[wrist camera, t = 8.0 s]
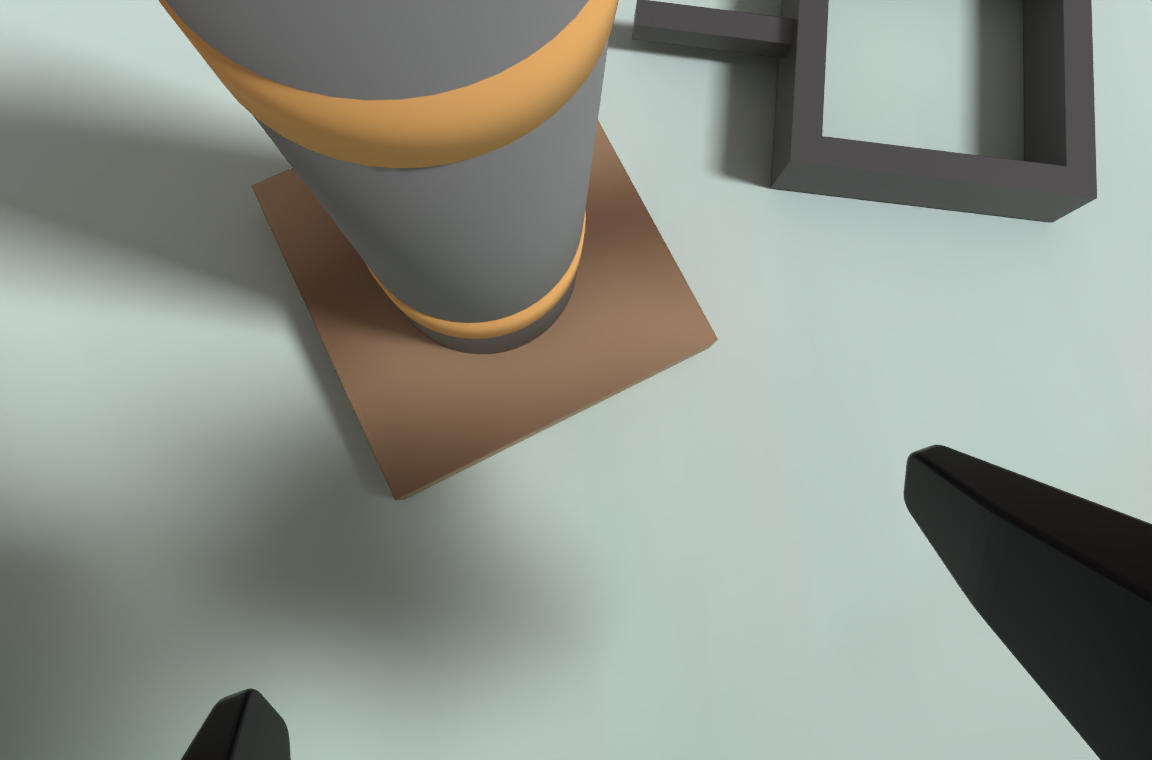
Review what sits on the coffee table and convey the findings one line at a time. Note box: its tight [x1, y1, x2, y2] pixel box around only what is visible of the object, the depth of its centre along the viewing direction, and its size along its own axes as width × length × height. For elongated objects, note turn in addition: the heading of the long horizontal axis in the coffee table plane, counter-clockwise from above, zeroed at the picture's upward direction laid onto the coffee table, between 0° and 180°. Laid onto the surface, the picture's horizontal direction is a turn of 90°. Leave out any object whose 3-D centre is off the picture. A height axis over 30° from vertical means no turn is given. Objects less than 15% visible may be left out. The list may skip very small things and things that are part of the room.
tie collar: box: [632, 0, 1097, 222], centre depth 19 cm, size 8×13×2 cm, turn 84°
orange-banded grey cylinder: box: [159, 0, 618, 354], centre depth 11 cm, size 5×5×13 cm
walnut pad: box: [252, 121, 718, 500], centre depth 18 cm, size 9×9×1 cm
